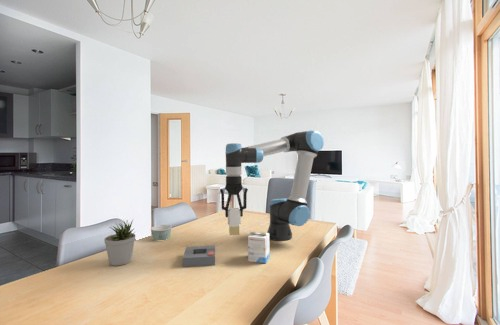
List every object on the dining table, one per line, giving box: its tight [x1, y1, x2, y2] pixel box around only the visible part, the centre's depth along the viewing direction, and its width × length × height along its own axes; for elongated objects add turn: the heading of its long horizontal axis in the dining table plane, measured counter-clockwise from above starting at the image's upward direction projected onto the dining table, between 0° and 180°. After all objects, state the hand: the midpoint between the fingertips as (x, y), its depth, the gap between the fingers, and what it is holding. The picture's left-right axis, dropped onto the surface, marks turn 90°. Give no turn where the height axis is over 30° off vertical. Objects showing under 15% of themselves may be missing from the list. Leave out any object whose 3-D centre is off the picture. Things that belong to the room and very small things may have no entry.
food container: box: [150, 224, 173, 241], centre depth 147 cm, size 12×12×6 cm
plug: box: [228, 207, 240, 236], centre depth 120 cm, size 4×4×12 cm
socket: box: [182, 244, 216, 268], centre depth 116 cm, size 14×14×5 cm
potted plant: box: [104, 219, 137, 267], centre depth 113 cm, size 13×14×20 cm
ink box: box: [247, 231, 271, 264], centre depth 117 cm, size 9×8×13 cm
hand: (234, 223), depth 121 cm, fingers closed on plug, 4 cm apart
